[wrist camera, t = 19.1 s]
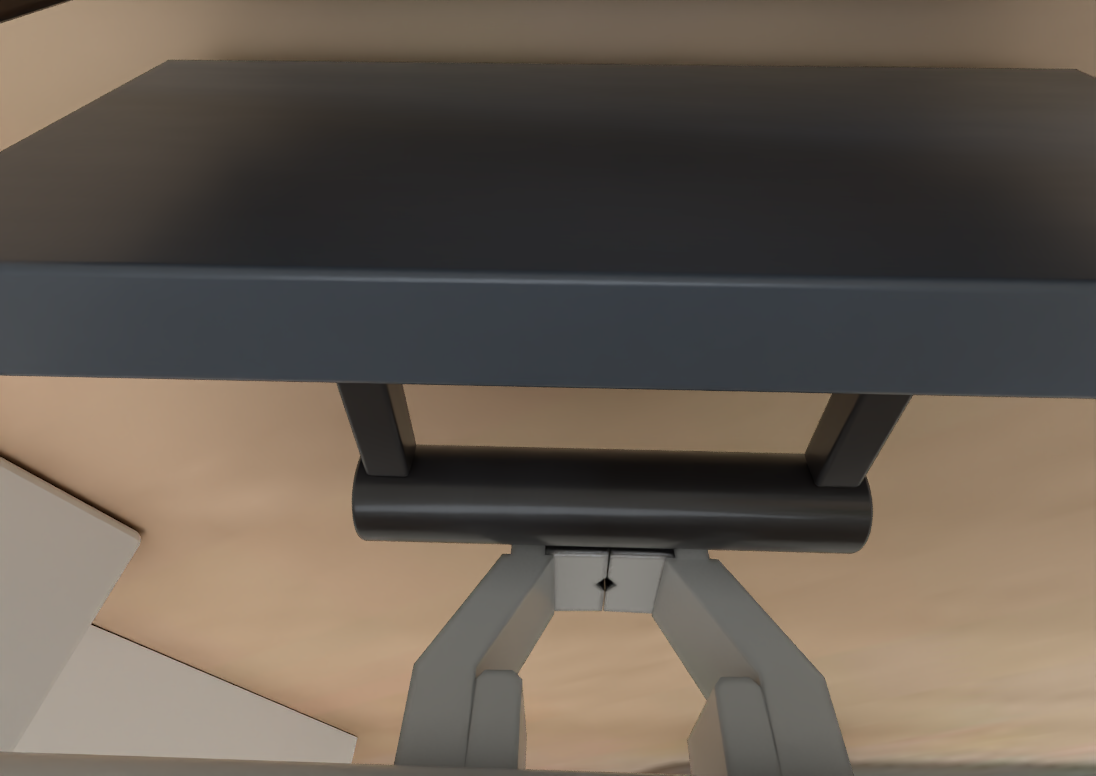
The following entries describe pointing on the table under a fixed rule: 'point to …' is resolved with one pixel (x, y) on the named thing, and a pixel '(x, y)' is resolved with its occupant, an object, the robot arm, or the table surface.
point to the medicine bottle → (48, 587)
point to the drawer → (569, 265)
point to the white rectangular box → (168, 712)
